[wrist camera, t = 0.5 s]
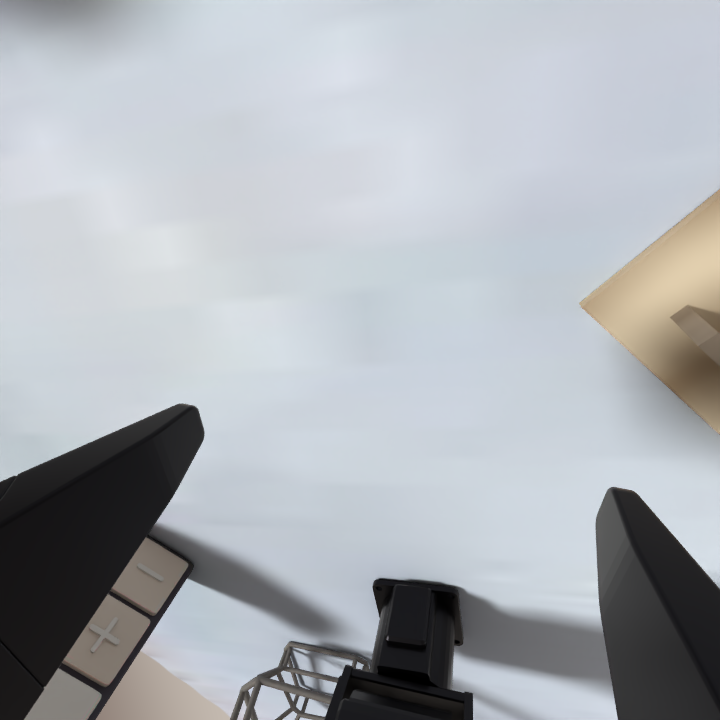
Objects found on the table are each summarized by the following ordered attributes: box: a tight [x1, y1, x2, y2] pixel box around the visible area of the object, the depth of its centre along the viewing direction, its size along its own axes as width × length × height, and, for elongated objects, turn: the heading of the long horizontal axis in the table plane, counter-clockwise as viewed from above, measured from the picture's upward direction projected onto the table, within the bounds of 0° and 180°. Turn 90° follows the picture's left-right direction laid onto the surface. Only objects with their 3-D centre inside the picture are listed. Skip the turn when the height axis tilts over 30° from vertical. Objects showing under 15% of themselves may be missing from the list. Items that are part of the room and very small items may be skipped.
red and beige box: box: [24, 535, 193, 720], centre depth 33 cm, size 11×4×15 cm, turn 58°
